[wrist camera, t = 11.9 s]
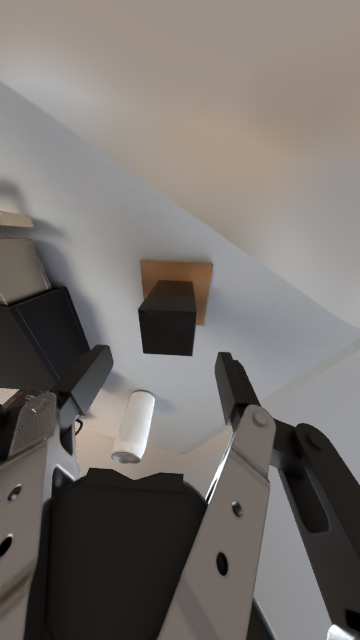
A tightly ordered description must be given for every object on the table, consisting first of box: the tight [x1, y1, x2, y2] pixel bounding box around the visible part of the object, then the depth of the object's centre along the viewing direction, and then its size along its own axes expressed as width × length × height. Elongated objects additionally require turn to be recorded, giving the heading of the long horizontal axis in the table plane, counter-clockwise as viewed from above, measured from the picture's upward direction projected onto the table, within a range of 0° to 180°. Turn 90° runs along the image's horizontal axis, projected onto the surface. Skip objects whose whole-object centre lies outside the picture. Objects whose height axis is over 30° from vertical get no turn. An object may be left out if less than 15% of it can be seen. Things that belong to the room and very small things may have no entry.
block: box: [138, 280, 197, 356], centre depth 17 cm, size 5×5×10 cm
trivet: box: [140, 260, 213, 326], centre depth 22 cm, size 10×10×1 cm
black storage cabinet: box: [0, 287, 90, 391], centre depth 23 cm, size 15×15×9 cm
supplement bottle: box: [2, 389, 46, 409], centre depth 33 cm, size 6×6×11 cm
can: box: [111, 391, 155, 464], centre depth 32 cm, size 6×6×12 cm
